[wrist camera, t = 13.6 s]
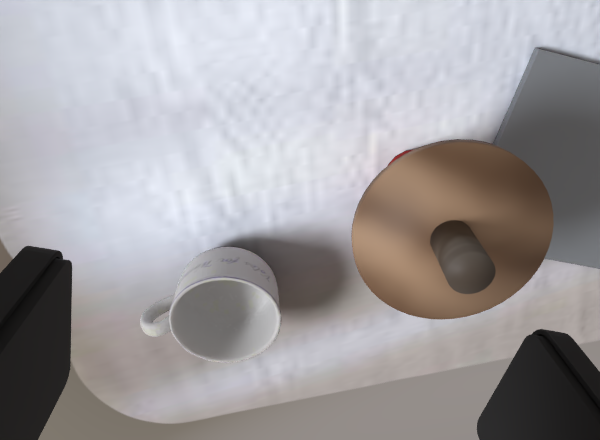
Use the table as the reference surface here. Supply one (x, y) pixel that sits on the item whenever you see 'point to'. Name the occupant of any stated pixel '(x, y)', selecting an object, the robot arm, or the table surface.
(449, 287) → the lid
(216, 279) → the teacup
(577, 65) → the mat
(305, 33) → the table surface
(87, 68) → the table surface
